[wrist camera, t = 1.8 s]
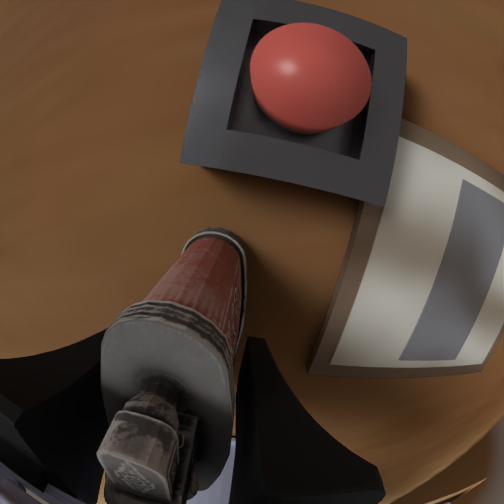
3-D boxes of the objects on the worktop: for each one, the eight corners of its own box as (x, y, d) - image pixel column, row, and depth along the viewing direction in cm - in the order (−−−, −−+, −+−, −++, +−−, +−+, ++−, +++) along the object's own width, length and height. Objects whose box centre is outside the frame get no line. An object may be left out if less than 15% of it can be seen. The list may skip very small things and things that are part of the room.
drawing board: (477, 367, 14) (482, 373, 13) (306, 367, 14) (308, 376, 13) (538, 206, 10) (545, 209, 9) (376, 112, 10) (384, 109, 9)
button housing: (360, 198, 11) (384, 207, 8) (197, 164, 11) (179, 163, 8) (382, 57, 9) (407, 38, 6) (231, 21, 9) (224, -9, 6)
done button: (346, 146, 8) (362, 142, 7) (242, 122, 8) (238, 112, 7) (359, 59, 7) (375, 42, 6) (262, 34, 7) (262, 13, 6)
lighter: (181, 221, 11) (-6, 378, 2) (259, 234, 12) (255, 476, 2) (173, 364, 14) (113, 525, 4) (233, 376, 14) (211, 550, 4)
